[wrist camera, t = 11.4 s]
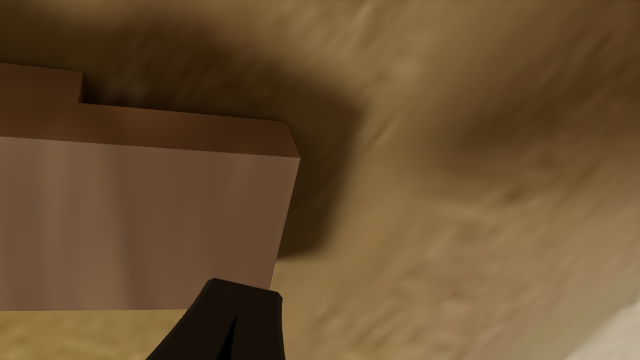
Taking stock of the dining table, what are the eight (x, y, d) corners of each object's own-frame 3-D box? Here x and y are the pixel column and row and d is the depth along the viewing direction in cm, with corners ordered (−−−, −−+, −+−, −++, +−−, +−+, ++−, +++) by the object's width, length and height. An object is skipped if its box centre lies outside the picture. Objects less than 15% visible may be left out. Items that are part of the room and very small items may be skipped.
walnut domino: (300, 157, 13) (-83, 130, 11) (264, 308, 15) (-59, 311, 13) (286, 121, 14) (-59, 90, 12) (254, 265, 16) (-40, 261, 14)
